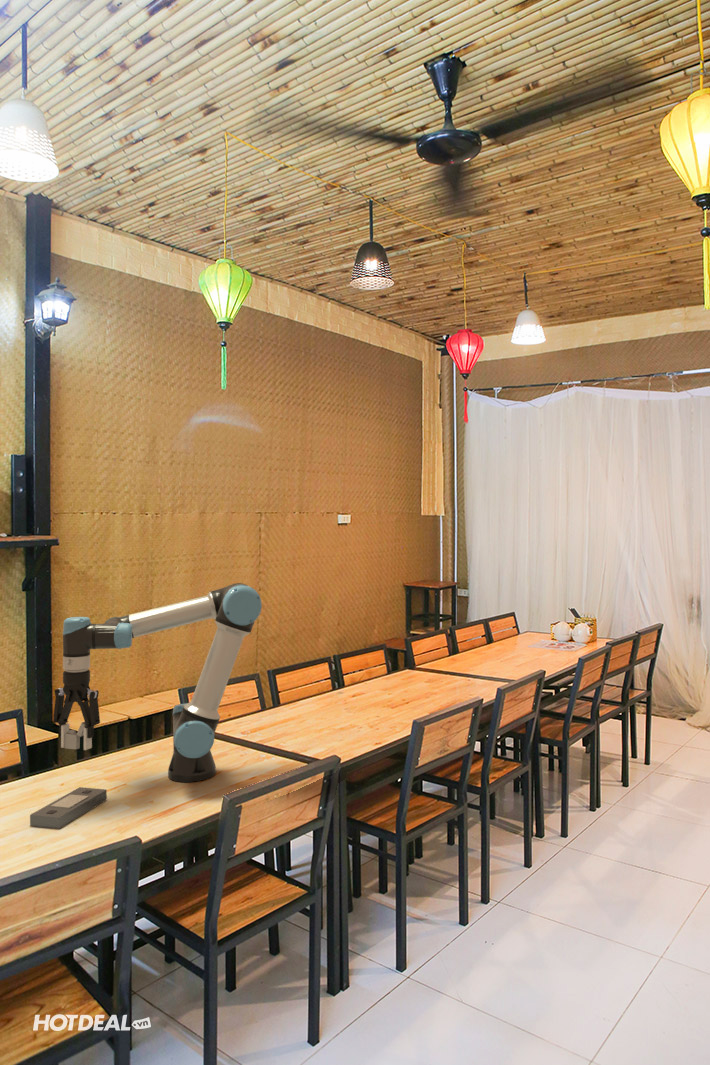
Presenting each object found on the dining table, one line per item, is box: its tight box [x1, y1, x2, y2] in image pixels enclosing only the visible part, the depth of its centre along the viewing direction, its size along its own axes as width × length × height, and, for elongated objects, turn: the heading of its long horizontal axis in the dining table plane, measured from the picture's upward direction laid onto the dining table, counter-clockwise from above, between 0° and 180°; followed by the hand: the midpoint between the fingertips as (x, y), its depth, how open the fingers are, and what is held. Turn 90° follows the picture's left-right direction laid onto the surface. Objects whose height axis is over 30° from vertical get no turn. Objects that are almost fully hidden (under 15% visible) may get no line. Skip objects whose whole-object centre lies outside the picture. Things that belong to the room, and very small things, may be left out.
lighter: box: [64, 721, 86, 750], centre depth 218 cm, size 7×2×8 cm, turn 74°
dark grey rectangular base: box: [29, 786, 108, 830], centre depth 209 cm, size 9×22×3 cm, turn 166°
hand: (76, 747), depth 218 cm, fingers closed on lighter, 7 cm apart
